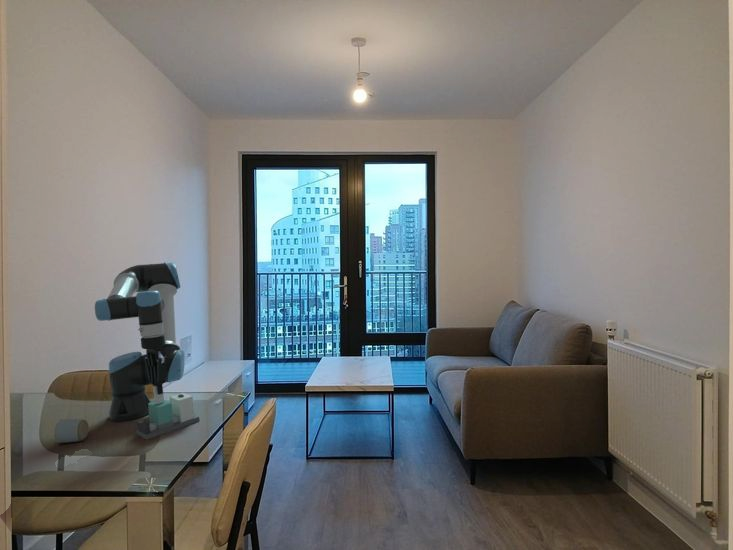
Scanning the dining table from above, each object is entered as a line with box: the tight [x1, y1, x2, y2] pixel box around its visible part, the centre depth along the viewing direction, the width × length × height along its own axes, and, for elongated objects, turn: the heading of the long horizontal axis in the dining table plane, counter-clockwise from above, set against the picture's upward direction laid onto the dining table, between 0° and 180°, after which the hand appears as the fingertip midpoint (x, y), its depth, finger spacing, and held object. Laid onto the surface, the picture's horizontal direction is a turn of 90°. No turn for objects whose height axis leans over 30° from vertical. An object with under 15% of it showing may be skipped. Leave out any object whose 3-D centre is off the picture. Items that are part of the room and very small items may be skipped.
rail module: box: [148, 399, 173, 430], centre depth 170 cm, size 5×7×8 cm
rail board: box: [135, 392, 200, 440], centre depth 172 cm, size 19×8×10 cm, turn 138°
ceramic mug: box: [53, 418, 89, 444], centre depth 168 cm, size 11×8×8 cm
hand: (159, 402), depth 170 cm, fingers closed
